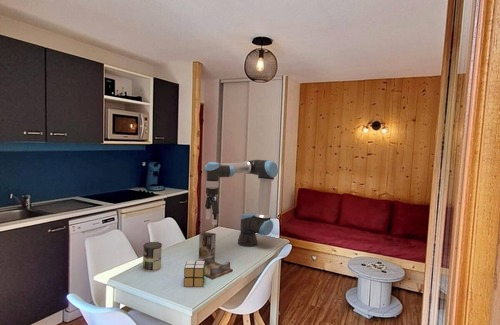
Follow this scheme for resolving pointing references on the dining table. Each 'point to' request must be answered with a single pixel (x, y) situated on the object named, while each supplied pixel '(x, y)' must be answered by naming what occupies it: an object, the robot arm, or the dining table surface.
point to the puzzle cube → (194, 274)
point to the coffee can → (152, 256)
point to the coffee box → (206, 245)
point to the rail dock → (207, 271)
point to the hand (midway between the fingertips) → (211, 221)
